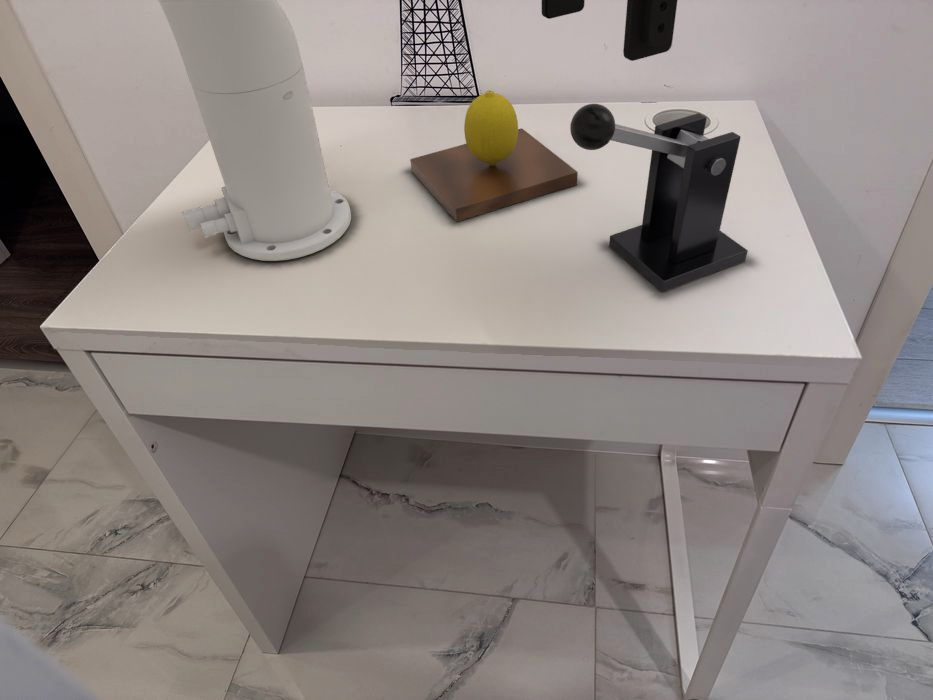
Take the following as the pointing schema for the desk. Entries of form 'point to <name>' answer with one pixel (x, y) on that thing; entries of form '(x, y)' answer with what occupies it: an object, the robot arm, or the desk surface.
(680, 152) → the lever
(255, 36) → the robot arm
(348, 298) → the desk surface
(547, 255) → the desk surface
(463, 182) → the board
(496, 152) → the lemon
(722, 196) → the lever stand
